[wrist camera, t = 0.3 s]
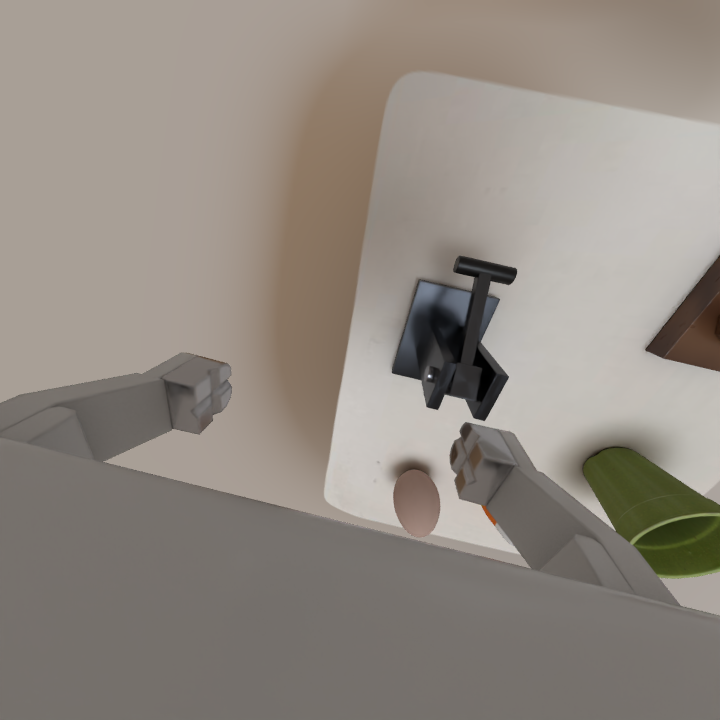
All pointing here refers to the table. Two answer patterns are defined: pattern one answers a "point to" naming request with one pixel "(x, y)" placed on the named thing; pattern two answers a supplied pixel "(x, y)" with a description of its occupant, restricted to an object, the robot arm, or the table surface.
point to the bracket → (446, 346)
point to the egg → (416, 503)
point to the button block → (694, 326)
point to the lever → (474, 322)
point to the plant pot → (657, 513)
